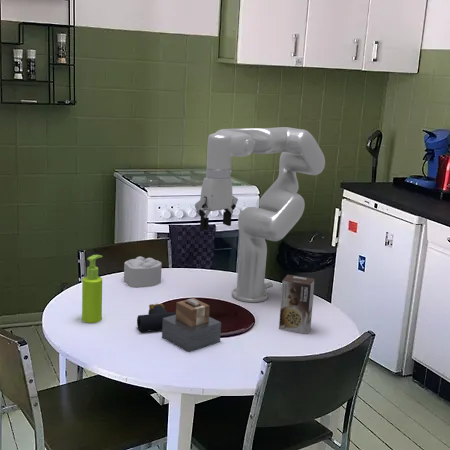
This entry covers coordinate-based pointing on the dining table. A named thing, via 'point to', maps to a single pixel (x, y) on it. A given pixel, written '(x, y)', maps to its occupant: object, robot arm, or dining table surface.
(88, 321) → the soap dispenser
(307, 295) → the brown grey upright box
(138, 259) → the lumpy-topped squat cylinder
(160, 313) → the pipe connector
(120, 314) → the dining table surface
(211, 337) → the block
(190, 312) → the brown small box
